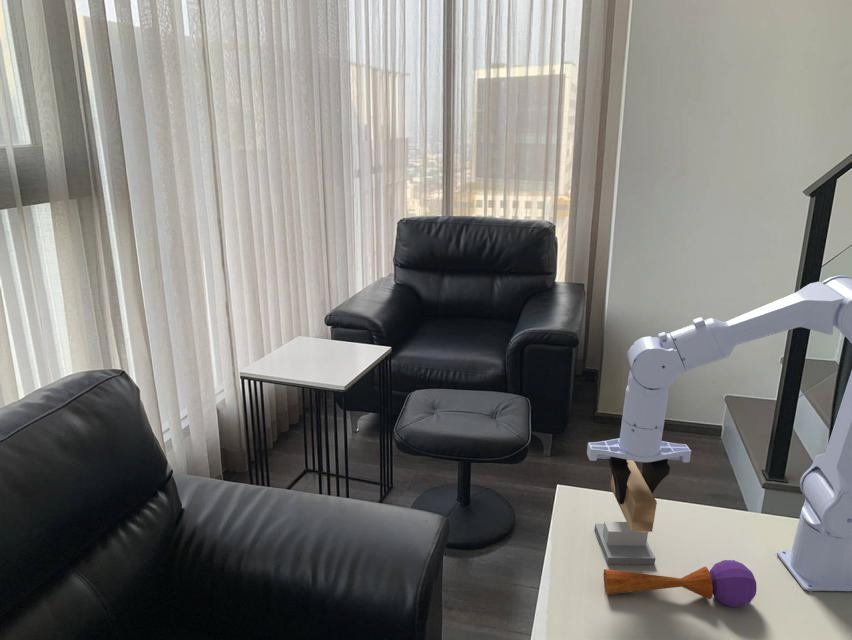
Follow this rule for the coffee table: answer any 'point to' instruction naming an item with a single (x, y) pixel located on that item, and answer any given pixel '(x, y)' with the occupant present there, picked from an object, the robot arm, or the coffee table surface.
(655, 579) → the kendama
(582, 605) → the coffee table surface
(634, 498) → the oak bar
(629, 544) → the balance stand
